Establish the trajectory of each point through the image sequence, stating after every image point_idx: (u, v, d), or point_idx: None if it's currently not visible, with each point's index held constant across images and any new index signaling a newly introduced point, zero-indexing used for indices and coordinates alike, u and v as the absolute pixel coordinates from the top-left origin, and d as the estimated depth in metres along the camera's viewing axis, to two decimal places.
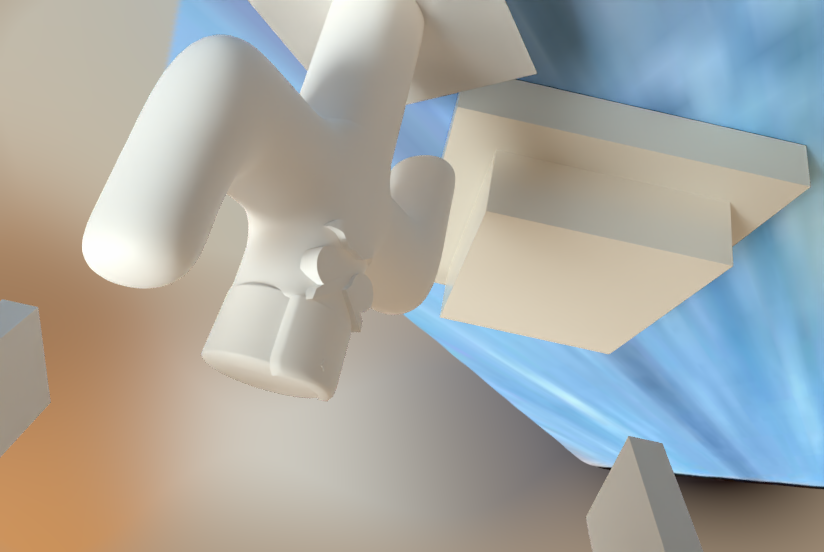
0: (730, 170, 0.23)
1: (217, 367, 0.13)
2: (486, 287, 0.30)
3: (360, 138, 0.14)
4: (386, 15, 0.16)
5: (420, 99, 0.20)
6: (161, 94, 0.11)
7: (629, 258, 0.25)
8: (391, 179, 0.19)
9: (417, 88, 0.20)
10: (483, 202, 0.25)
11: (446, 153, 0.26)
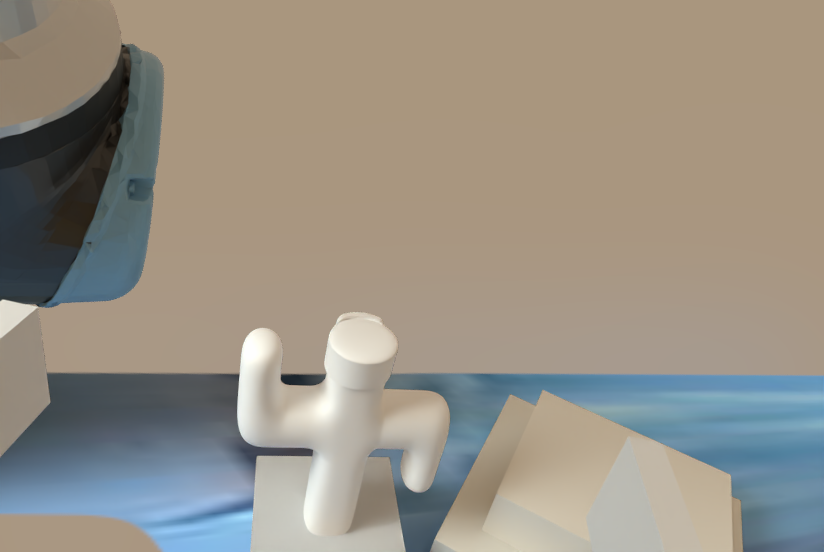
0: (498, 419, 0.41)
1: (348, 348, 0.23)
2: None
3: None
4: None
5: (398, 520, 0.30)
6: None
7: (546, 431, 0.36)
8: (406, 475, 0.28)
9: (388, 518, 0.30)
10: (511, 518, 0.31)
11: None
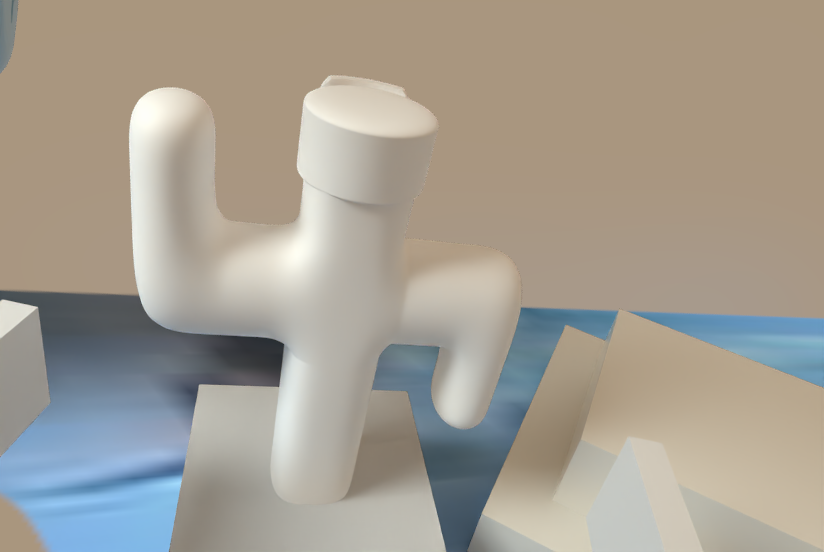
0: (554, 354, 0.29)
1: (343, 111, 0.12)
2: (796, 503, 0.19)
3: None
4: None
5: (426, 482, 0.19)
6: None
7: (636, 357, 0.24)
8: (443, 399, 0.17)
9: (410, 478, 0.19)
10: (604, 479, 0.20)
11: None
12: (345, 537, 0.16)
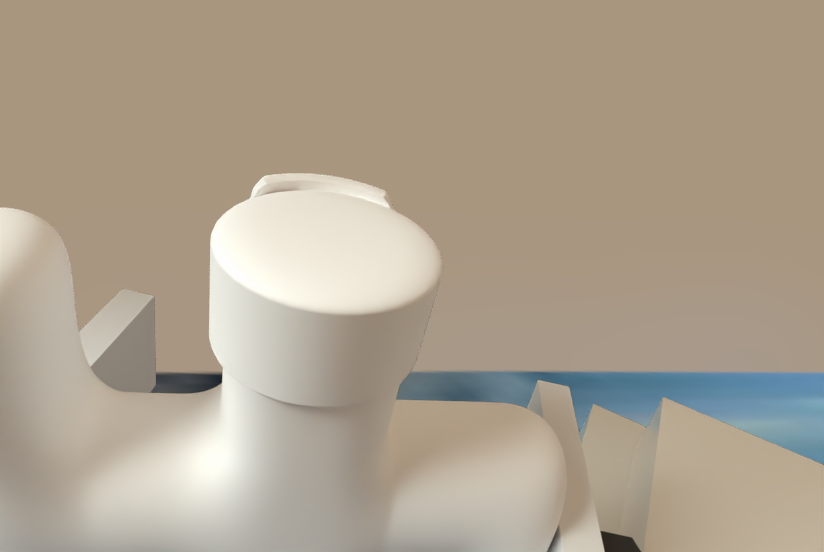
0: (582, 448, 0.24)
1: (274, 262, 0.07)
2: None
3: None
4: None
5: None
6: None
7: (691, 474, 0.19)
8: None
9: None
10: None
11: None
12: None
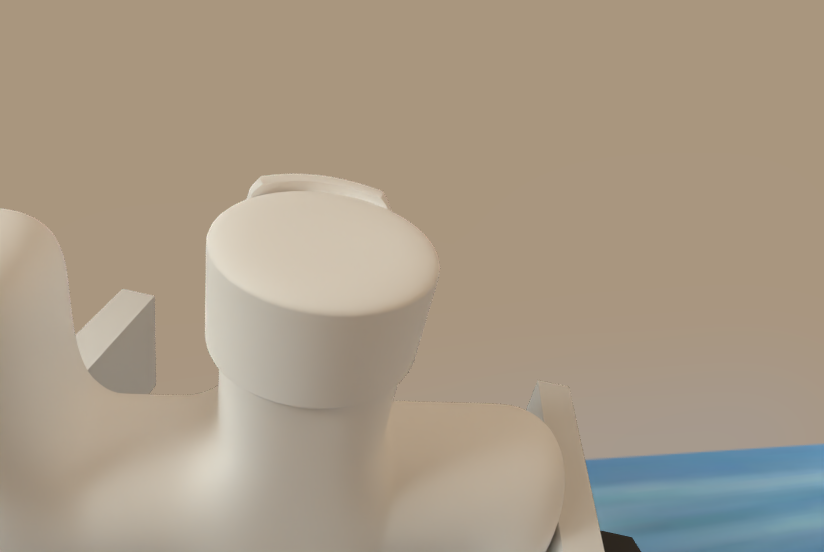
0: None
1: (270, 263, 0.07)
2: None
3: None
4: None
5: None
6: None
7: None
8: None
9: None
10: None
11: None
12: None
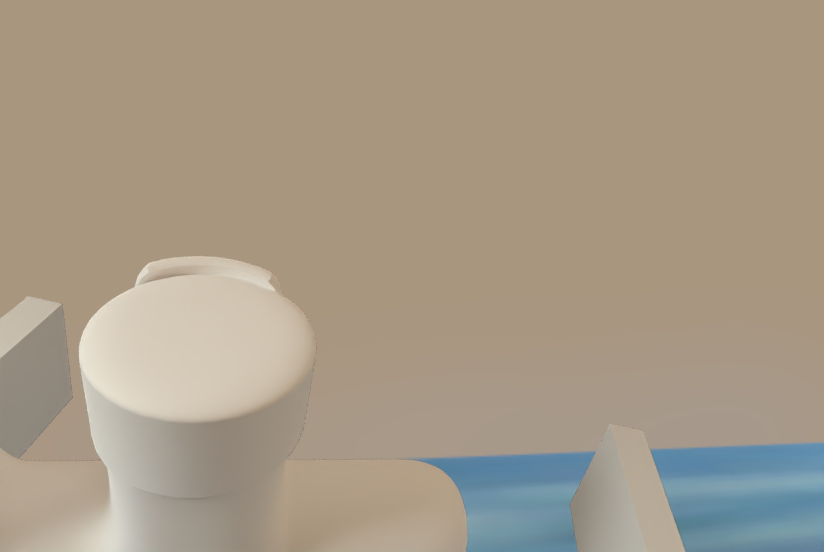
0: None
1: (135, 368, 0.07)
2: None
3: None
4: None
5: None
6: None
7: None
8: None
9: None
10: None
11: None
12: None
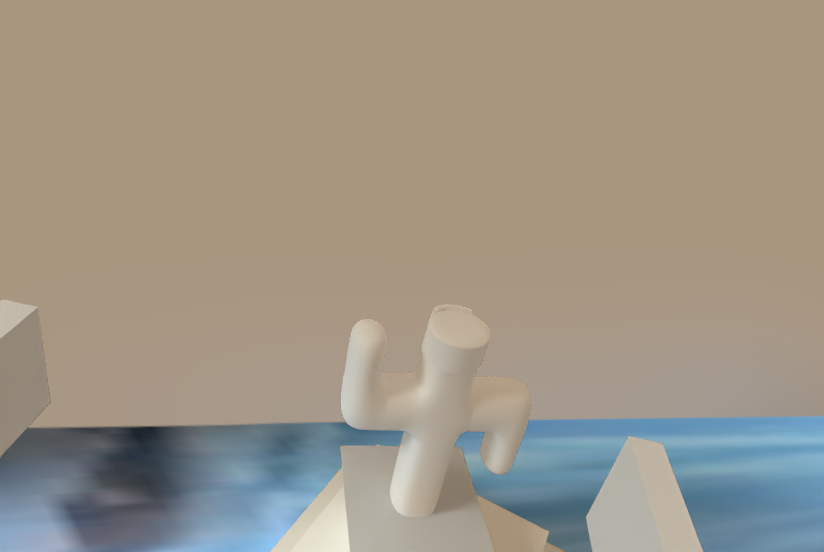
0: (338, 473, 0.41)
1: (449, 335, 0.26)
2: None
3: None
4: None
5: (477, 503, 0.32)
6: (342, 387, 0.27)
7: None
8: (489, 458, 0.30)
9: (468, 501, 0.32)
10: None
11: None
12: (436, 534, 0.30)
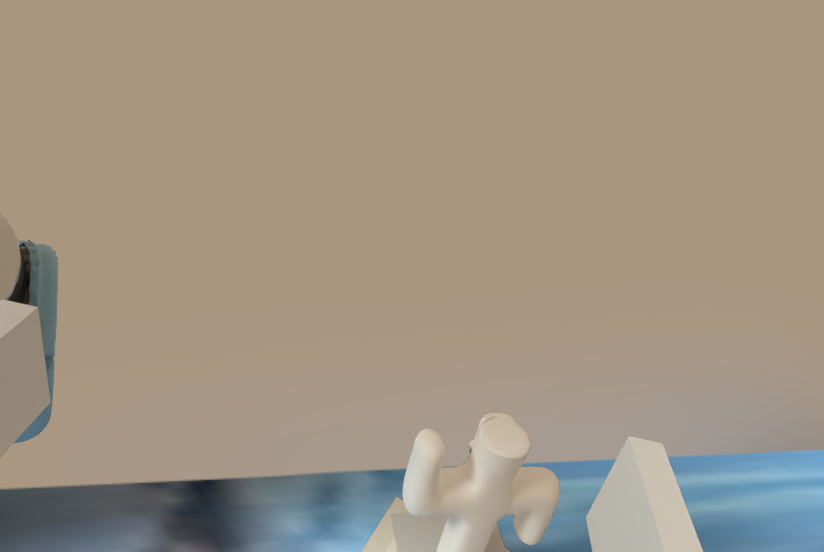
0: (379, 524, 0.46)
1: (497, 446, 0.31)
2: None
3: None
4: None
5: None
6: (405, 482, 0.33)
7: None
8: (522, 532, 0.36)
9: None
10: None
11: None
12: None
